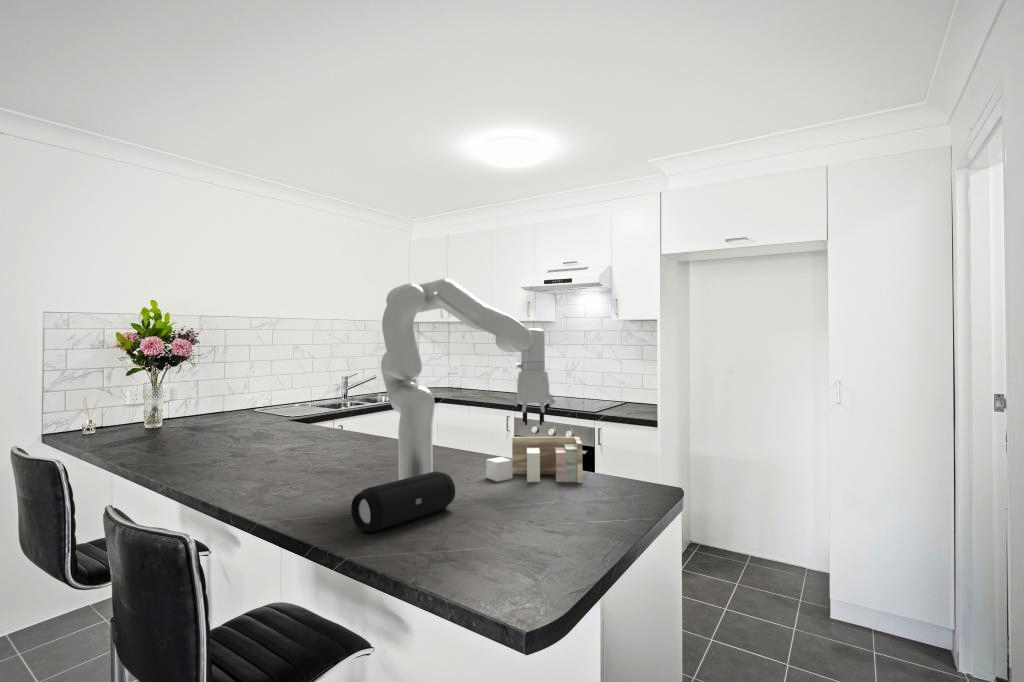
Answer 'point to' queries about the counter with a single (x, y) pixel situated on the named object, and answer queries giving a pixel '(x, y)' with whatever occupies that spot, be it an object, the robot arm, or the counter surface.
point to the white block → (533, 464)
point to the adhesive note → (499, 469)
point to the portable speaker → (402, 501)
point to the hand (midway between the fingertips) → (533, 423)
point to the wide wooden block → (550, 456)
